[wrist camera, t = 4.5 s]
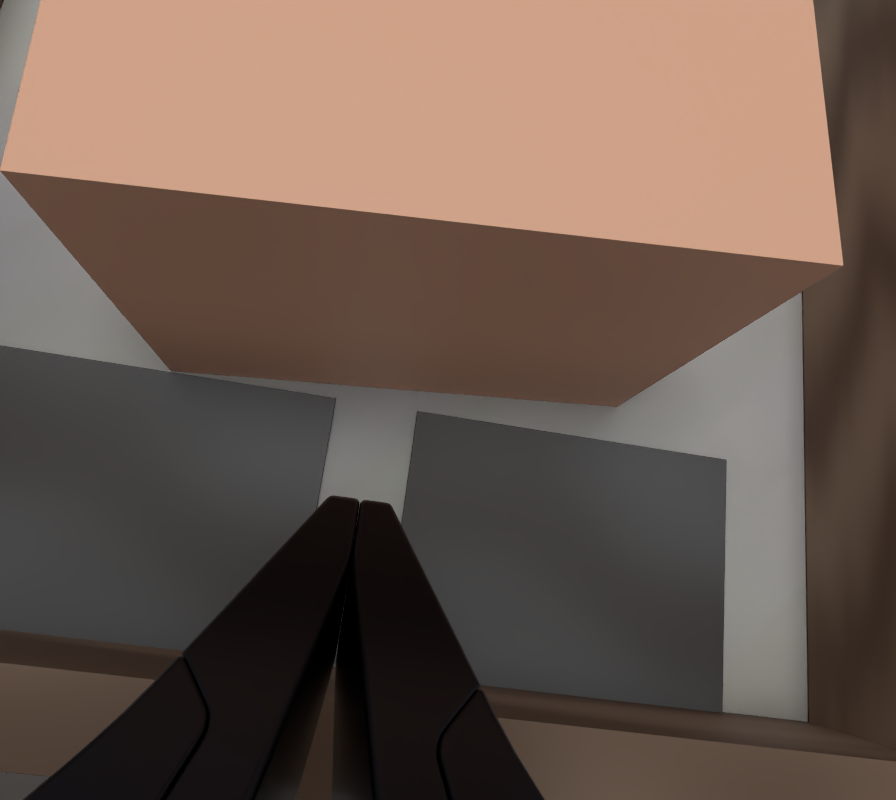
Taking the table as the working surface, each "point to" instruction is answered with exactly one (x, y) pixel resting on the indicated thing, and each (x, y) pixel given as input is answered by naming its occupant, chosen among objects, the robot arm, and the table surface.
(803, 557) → the table surface
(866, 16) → the shallow wooden tray box
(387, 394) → the table surface
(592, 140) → the terracotta block
